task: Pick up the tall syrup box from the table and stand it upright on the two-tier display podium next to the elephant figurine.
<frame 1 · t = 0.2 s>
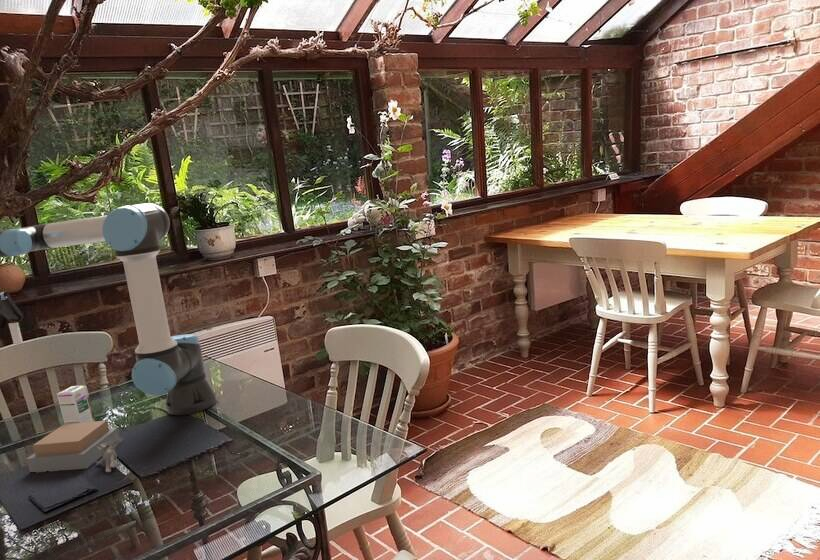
hand: (1, 350, 186), 28 cm above the table, tool pointing down, fingers open, 13 cm apart
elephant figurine: (114, 465, 162), on the table
display podium: (77, 456, 170), on the table
syrup box: (83, 435, 186), on the table
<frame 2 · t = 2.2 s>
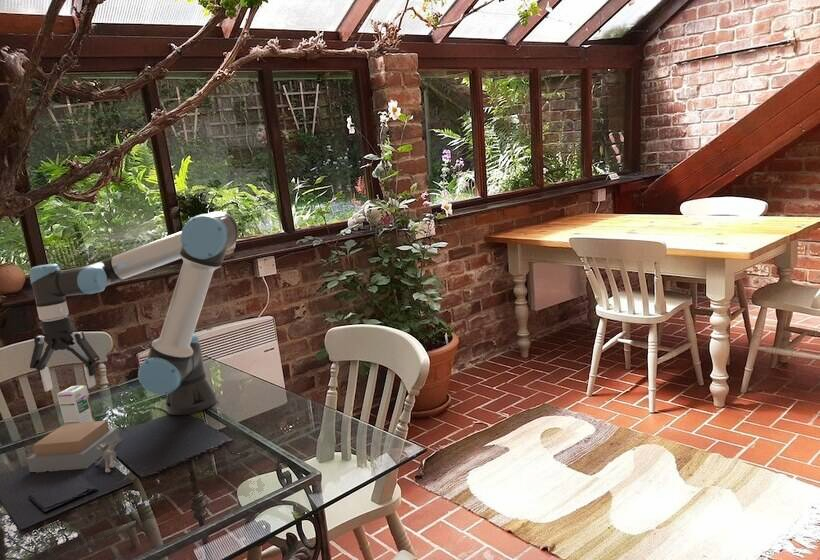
hand: (70, 388, 183), 15 cm above the table, tool pointing down, fingers open, 13 cm apart
nothing on the table moved.
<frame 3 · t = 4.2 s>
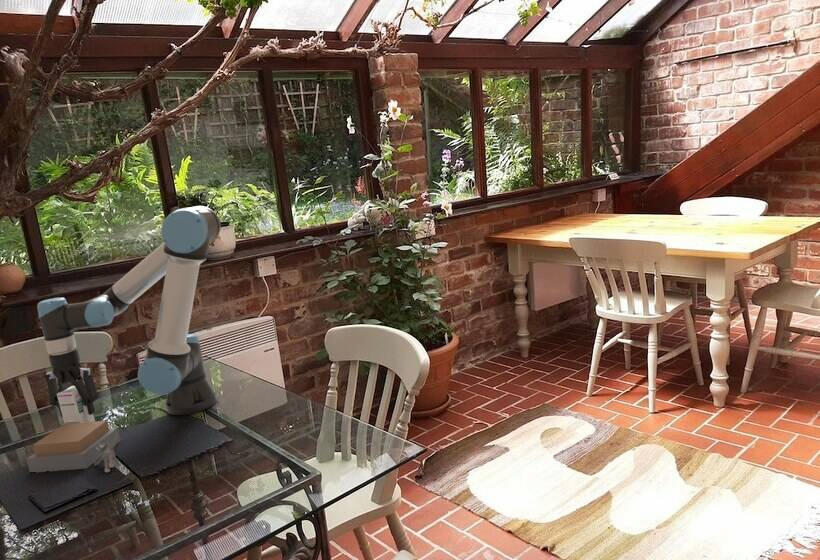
hand: (80, 425, 185), 3 cm above the table, tool pointing down, fingers closed on syrup box, 6 cm apart
syrup box: (83, 435, 186), on the table, touching gripper
everything else where it was.
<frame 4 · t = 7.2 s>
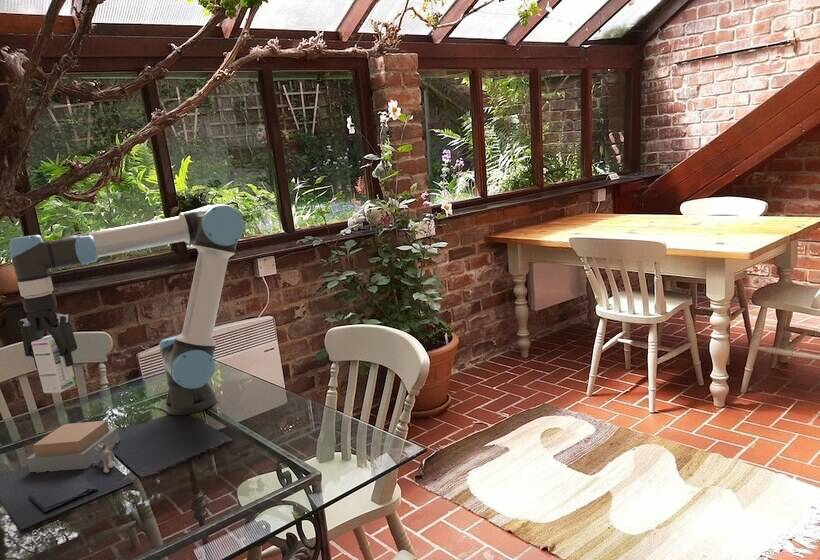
hand: (57, 378, 167), 22 cm above the table, tool pointing down, fingers closed on syrup box, 6 cm apart
syrup box: (60, 390, 168), point 19 cm above the table, touching gripper
everything else where it was.
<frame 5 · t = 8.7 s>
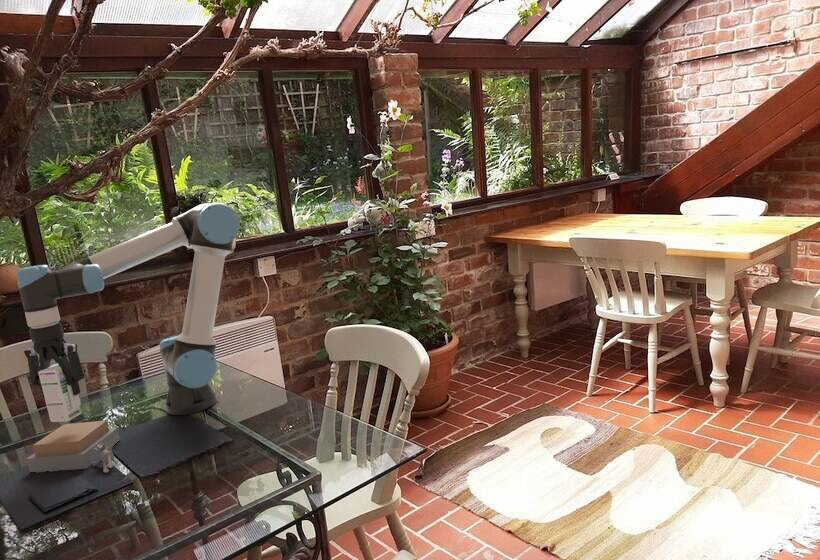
hand: (64, 407, 168), 14 cm above the table, tool pointing down, fingers closed on syrup box, 6 cm apart
syrup box: (67, 418, 168), point 11 cm above the table, touching gripper
everything else where it was.
when the fingers open (11 cm above the table, at t = 10.0 s): syrup box drops 1 cm, resting on display podium.
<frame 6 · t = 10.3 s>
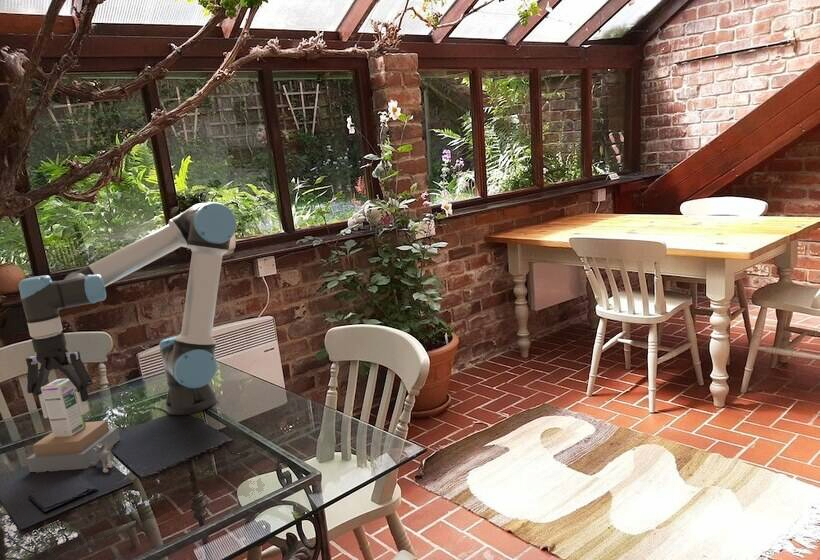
hand: (66, 414, 168), 12 cm above the table, tool pointing down, fingers open, 10 cm apart
syrup box: (70, 433, 169), point 7 cm above the table, touching display podium
everything else where it was.
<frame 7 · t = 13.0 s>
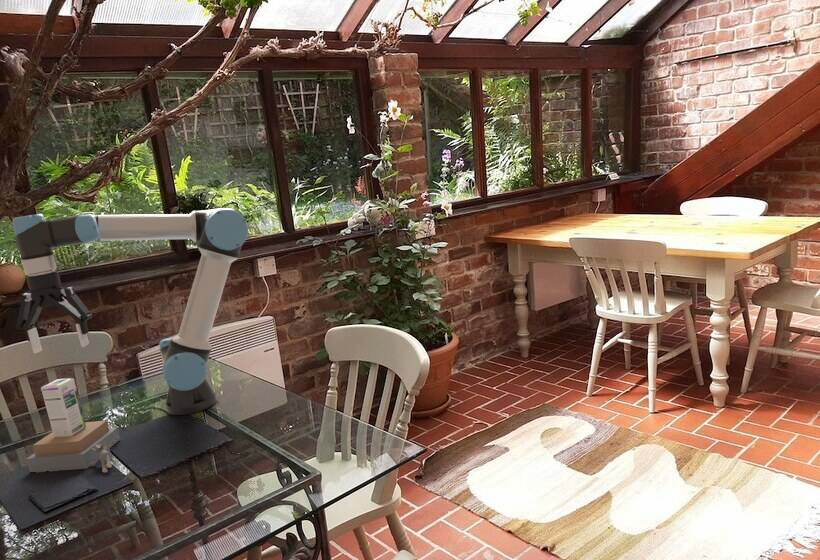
hand: (61, 349, 170), 29 cm above the table, tool pointing down, fingers open, 13 cm apart
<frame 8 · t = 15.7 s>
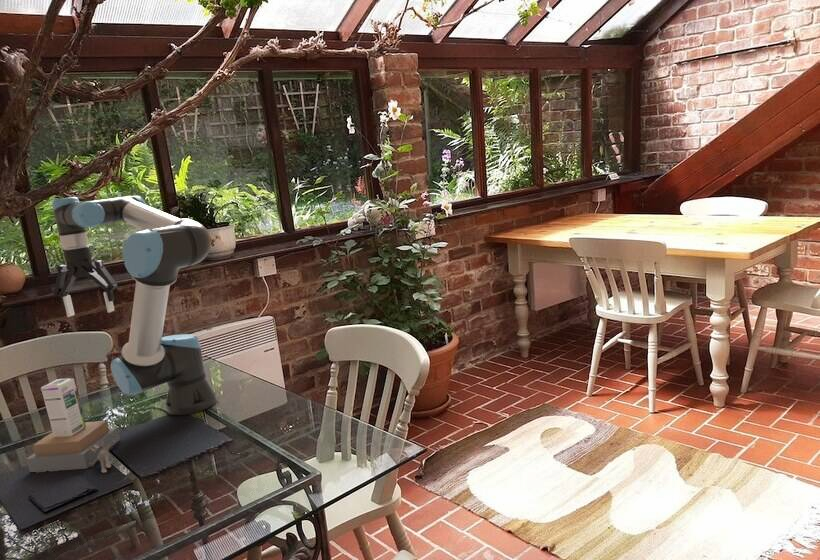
hand: (91, 313, 198), 33 cm above the table, tool pointing down, fingers open, 13 cm apart
at the end: syrup box inside the target area on the display podium (0.3 cm from its centre), point 6.8 cm above the display podium's base; syrup box tilted 0°; the gripper is holding nothing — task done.
